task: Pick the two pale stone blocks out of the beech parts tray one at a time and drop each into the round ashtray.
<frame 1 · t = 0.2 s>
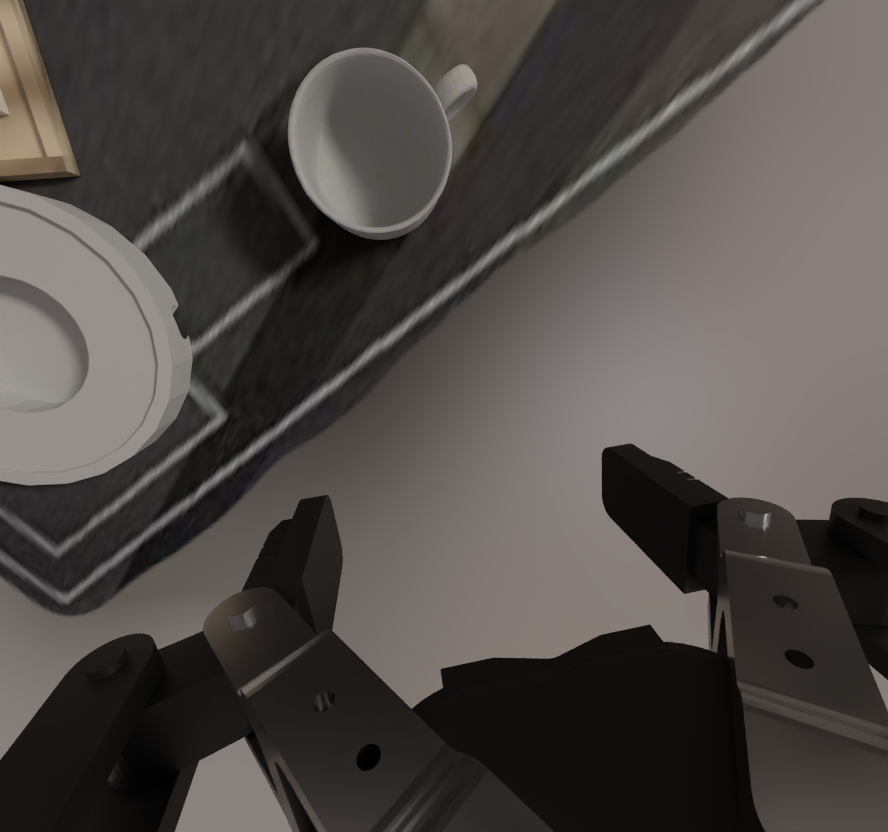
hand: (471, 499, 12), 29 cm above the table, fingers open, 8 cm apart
ashtray: (49, 341, 36), on the table
teacup: (392, 167, 35), on the table
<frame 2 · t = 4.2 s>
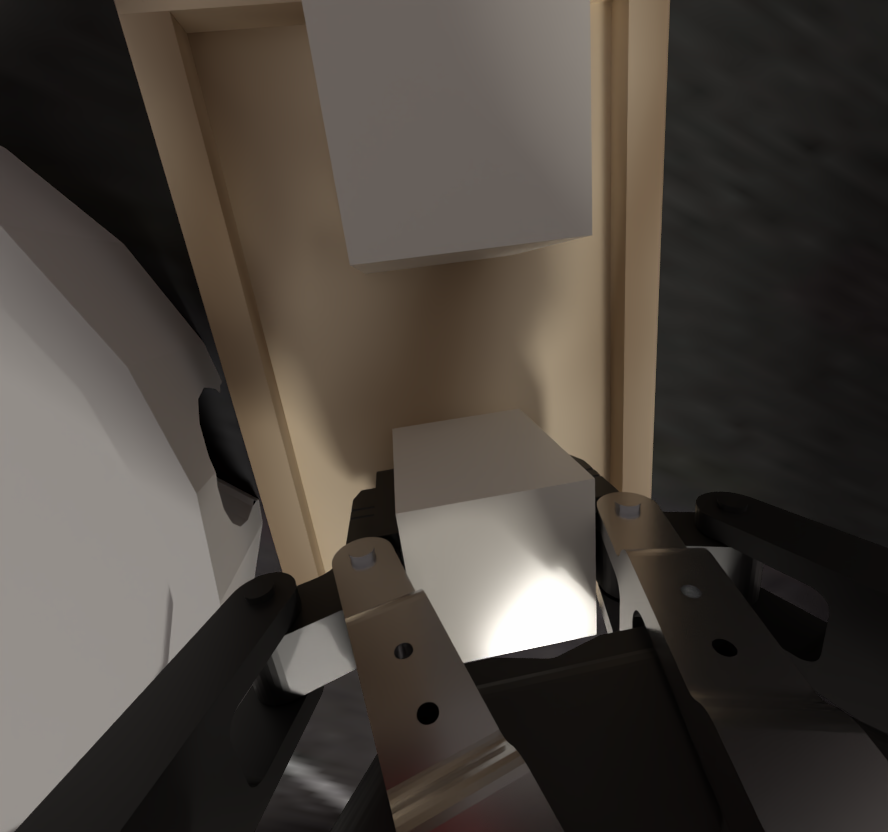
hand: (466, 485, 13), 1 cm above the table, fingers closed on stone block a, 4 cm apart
parts tray: (446, 351, 13), on the table
stone block b: (428, 183, 11), point 1 cm above the table, touching parts tray
stone block a: (463, 476, 13), point 1 cm above the table, touching gripper, parts tray
when the fingers open (7 cm above the table, at t = 7.8 s): stone block a drops 3 cm, resting on ashtray.
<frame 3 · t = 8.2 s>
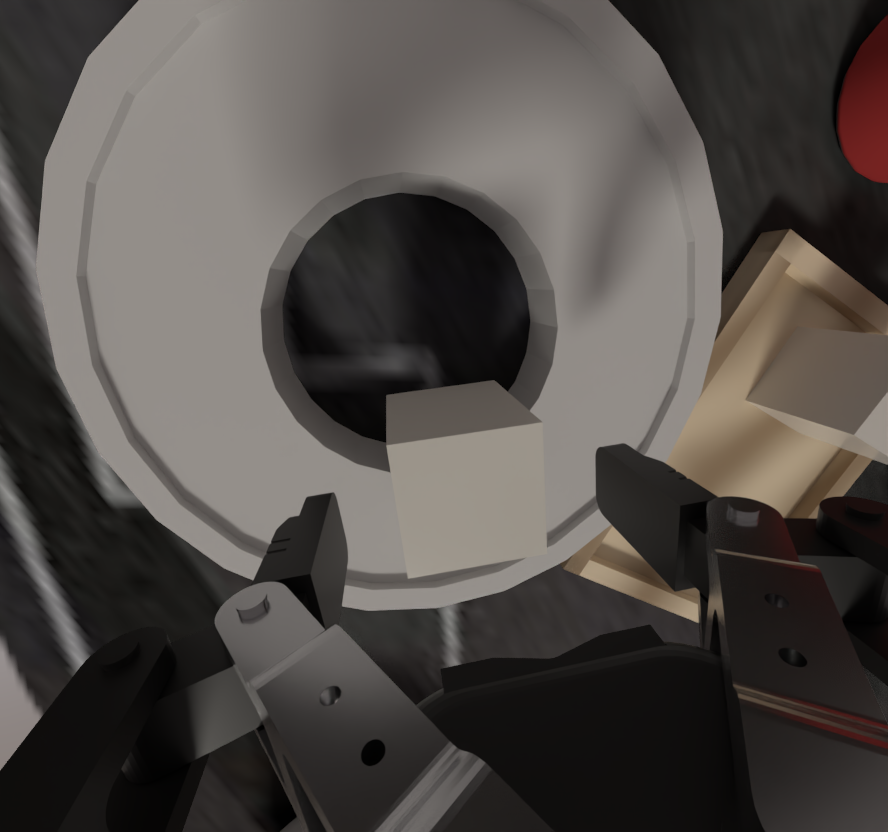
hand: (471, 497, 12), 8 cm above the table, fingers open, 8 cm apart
parts tray: (733, 454, 22), on the table
stone block b: (798, 382, 20), point 1 cm above the table, touching parts tray
ashtray: (410, 328, 18), on the table, touching stone block a
stone block a: (446, 438, 16), point 3 cm above the table, touching ashtray
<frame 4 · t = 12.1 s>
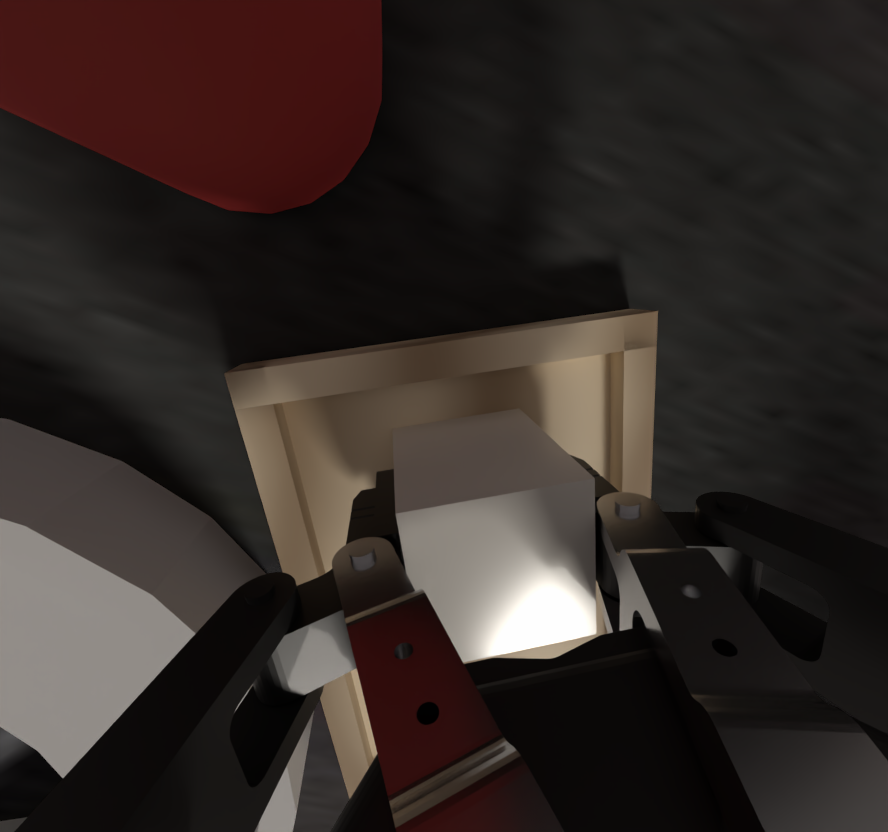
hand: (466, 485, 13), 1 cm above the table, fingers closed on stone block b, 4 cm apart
parts tray: (473, 577, 15), on the table
beer can: (250, 74, 10), on the table
stone block b: (463, 476, 13), point 1 cm above the table, touching gripper, parts tray
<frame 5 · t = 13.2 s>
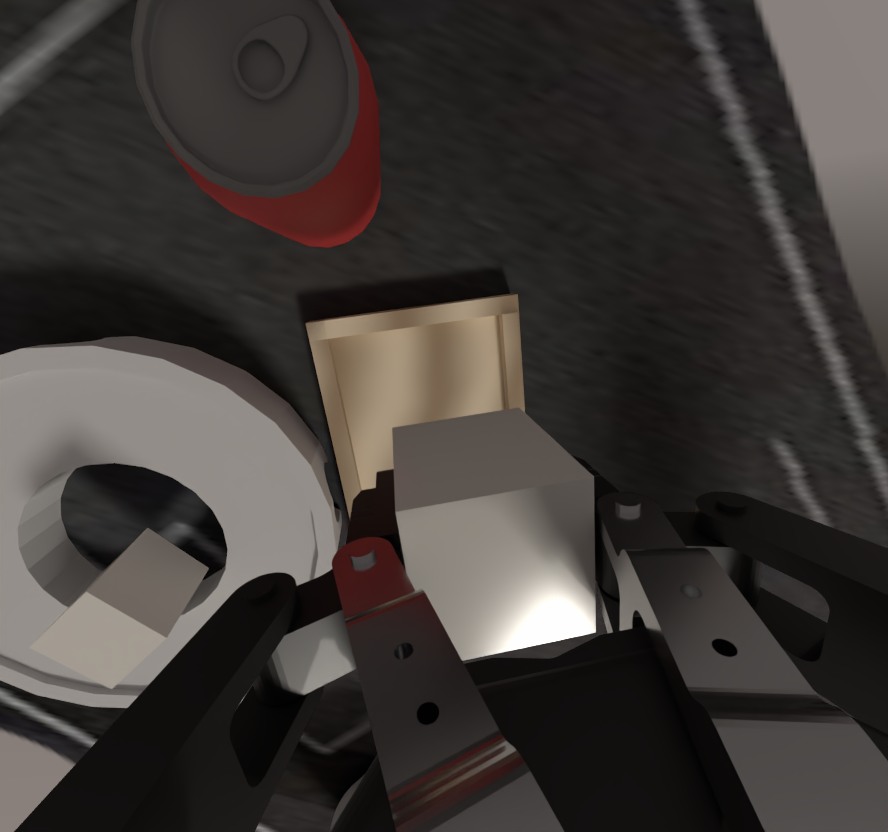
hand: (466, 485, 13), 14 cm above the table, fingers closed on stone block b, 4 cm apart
parts tray: (432, 446, 27), on the table
beer can: (318, 182, 22), on the table
stone block b: (463, 475, 13), point 13 cm above the table, touching gripper
ashtray: (160, 513, 27), on the table, touching stone block a
stone block a: (156, 570, 24), point 4 cm above the table, touching ashtray
teacup: (403, 790, 38), on the table
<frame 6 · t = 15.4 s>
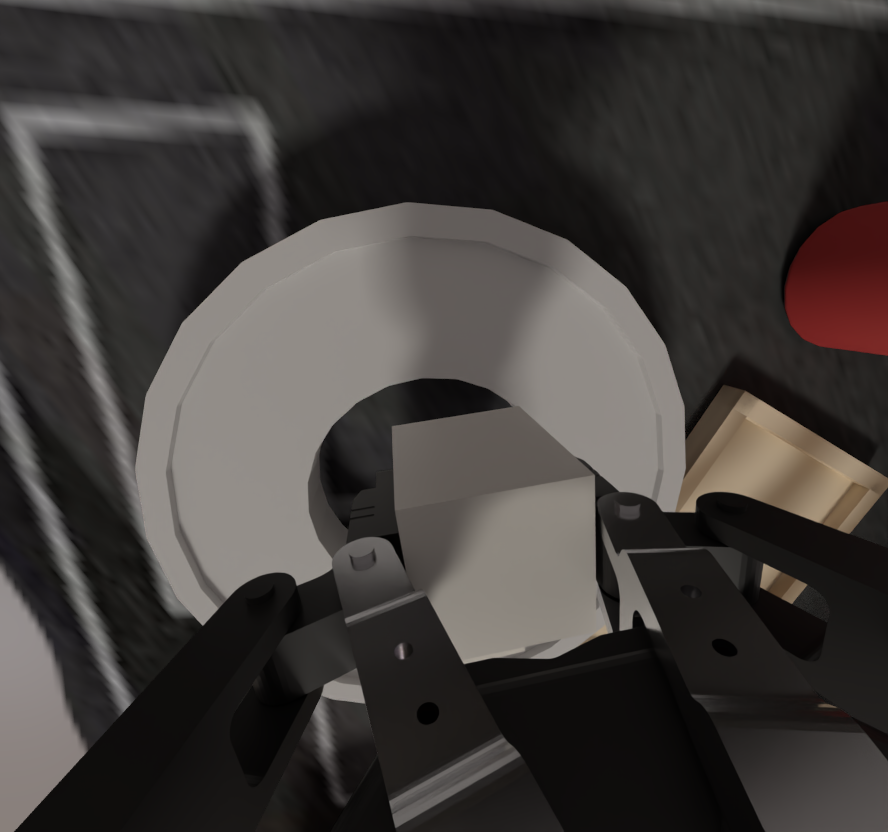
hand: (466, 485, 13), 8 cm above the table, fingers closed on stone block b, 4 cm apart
parts tray: (704, 557, 25), on the table
beer can: (830, 280, 21), on the table
stone block b: (463, 474, 13), point 7 cm above the table, touching gripper
ashtray: (425, 462, 22), on the table, touching stone block a
when the fingers open (7 cm above the table, at t = 15.9 s): stone block b drops 3 cm, resting on ashtray.
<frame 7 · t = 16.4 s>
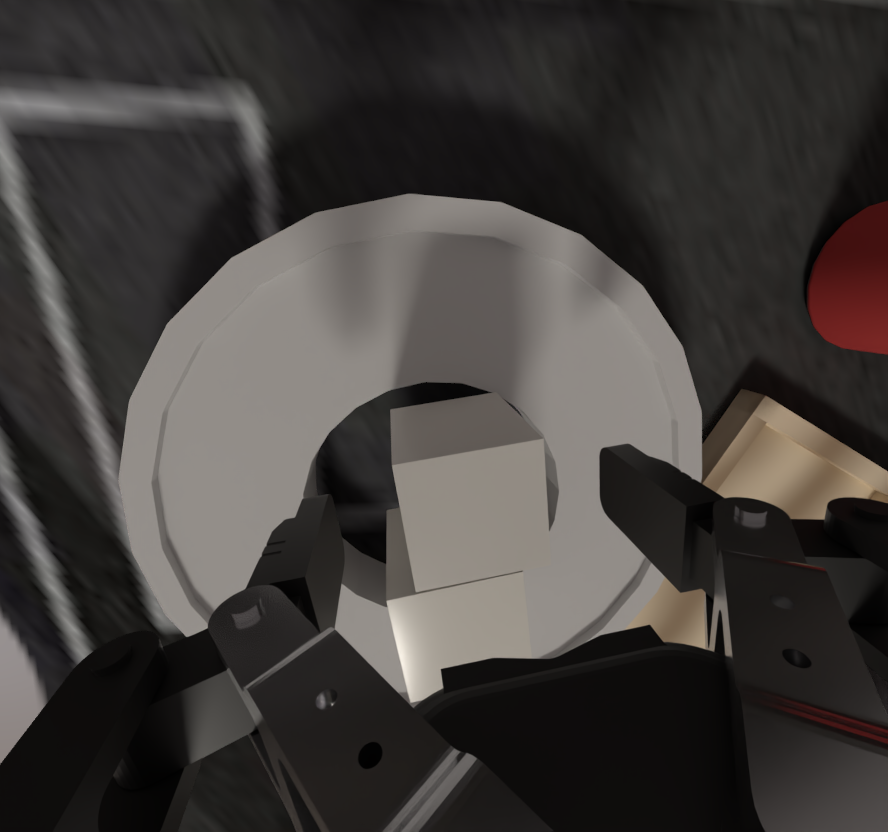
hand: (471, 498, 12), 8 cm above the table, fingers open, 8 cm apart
parts tray: (718, 568, 24), on the table
beer can: (855, 278, 20), on the table
stone block b: (450, 449, 16), point 3 cm above the table, touching ashtray
ashtray: (427, 469, 21), on the table, touching stone block a, stone block b
stone block a: (443, 542, 17), point 3 cm above the table, touching ashtray
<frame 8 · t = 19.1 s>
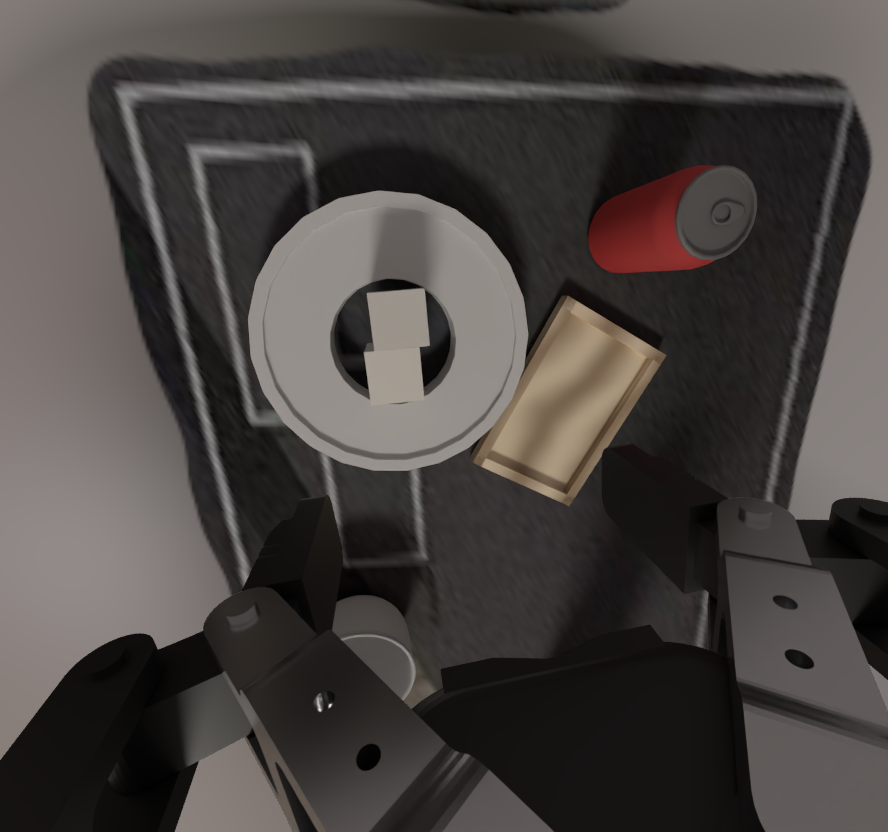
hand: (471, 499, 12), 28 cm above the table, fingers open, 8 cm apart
parts tray: (563, 405, 42), on the table
beer can: (618, 235, 38), on the table
stone block b: (397, 315, 34), point 3 cm above the table, touching ashtray
ashtray: (393, 338, 39), on the table, touching stone block a, stone block b
stone block a: (394, 364, 35), point 3 cm above the table, touching ashtray
teacup: (361, 629, 47), on the table
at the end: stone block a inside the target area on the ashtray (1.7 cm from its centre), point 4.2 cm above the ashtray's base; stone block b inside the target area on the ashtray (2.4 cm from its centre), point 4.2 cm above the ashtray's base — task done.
